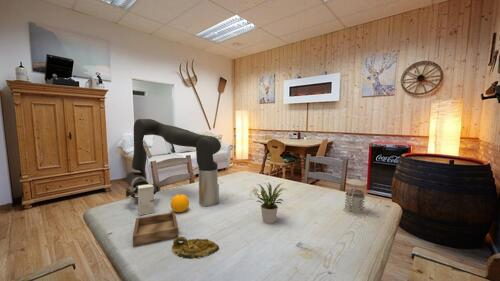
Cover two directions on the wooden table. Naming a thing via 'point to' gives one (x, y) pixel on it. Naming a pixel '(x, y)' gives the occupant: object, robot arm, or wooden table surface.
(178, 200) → the orange
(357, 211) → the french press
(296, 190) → the wooden table surface
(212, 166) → the robot arm
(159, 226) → the walnut box
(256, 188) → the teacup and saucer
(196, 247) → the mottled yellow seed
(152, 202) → the skincare box
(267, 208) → the house plant
